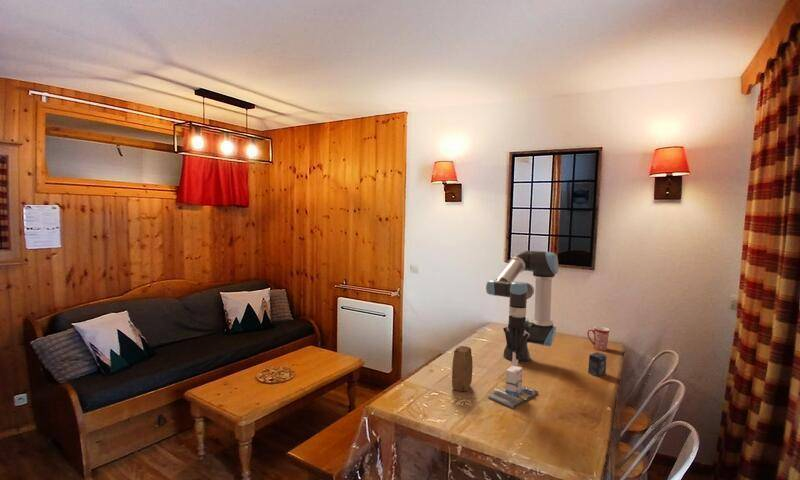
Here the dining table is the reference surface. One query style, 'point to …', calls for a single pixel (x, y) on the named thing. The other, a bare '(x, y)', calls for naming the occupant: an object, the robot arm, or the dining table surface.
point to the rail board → (510, 399)
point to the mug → (600, 338)
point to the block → (462, 368)
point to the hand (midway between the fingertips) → (514, 365)
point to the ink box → (514, 380)
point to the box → (597, 364)
